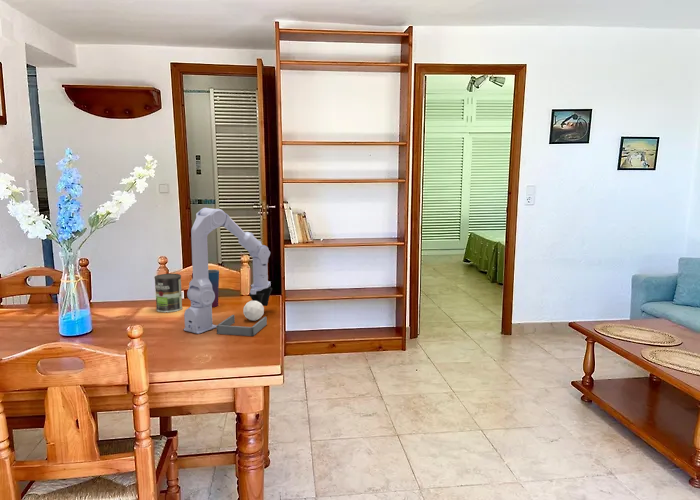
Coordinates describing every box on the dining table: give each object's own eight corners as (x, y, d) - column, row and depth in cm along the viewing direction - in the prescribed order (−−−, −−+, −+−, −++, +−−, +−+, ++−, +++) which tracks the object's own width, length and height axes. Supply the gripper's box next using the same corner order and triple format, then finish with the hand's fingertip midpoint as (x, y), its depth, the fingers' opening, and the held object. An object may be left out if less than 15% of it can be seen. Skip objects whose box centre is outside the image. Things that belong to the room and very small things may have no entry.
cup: (217, 307, 211) (216, 272, 208) (201, 307, 211) (200, 272, 208) (222, 303, 217) (220, 269, 215) (206, 303, 217) (205, 269, 215)
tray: (253, 336, 175) (252, 327, 175) (216, 333, 178) (216, 325, 177) (266, 324, 188) (266, 316, 188) (232, 322, 191) (232, 314, 190)
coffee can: (172, 313, 202) (170, 279, 200) (151, 311, 205) (148, 277, 203) (187, 307, 212) (186, 274, 210) (167, 305, 215) (165, 272, 213)
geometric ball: (254, 324, 196) (260, 305, 200) (264, 322, 190) (269, 302, 194) (237, 318, 193) (243, 298, 196) (246, 315, 187) (252, 295, 190)
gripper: (259, 270, 207) (260, 302, 209) (242, 277, 193) (243, 311, 195) (275, 271, 205) (275, 303, 207) (259, 278, 191) (260, 313, 193)
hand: (261, 307), depth 201 cm, fingers open, 6 cm apart
